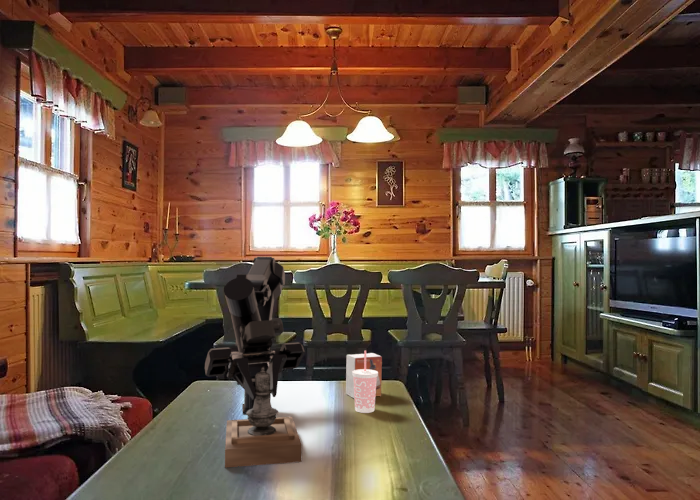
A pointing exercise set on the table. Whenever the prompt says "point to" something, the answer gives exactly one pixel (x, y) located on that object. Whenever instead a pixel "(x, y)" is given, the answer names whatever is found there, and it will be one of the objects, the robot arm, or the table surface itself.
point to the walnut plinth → (262, 444)
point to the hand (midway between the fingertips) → (264, 397)
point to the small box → (358, 363)
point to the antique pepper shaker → (262, 407)
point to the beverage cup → (365, 388)
